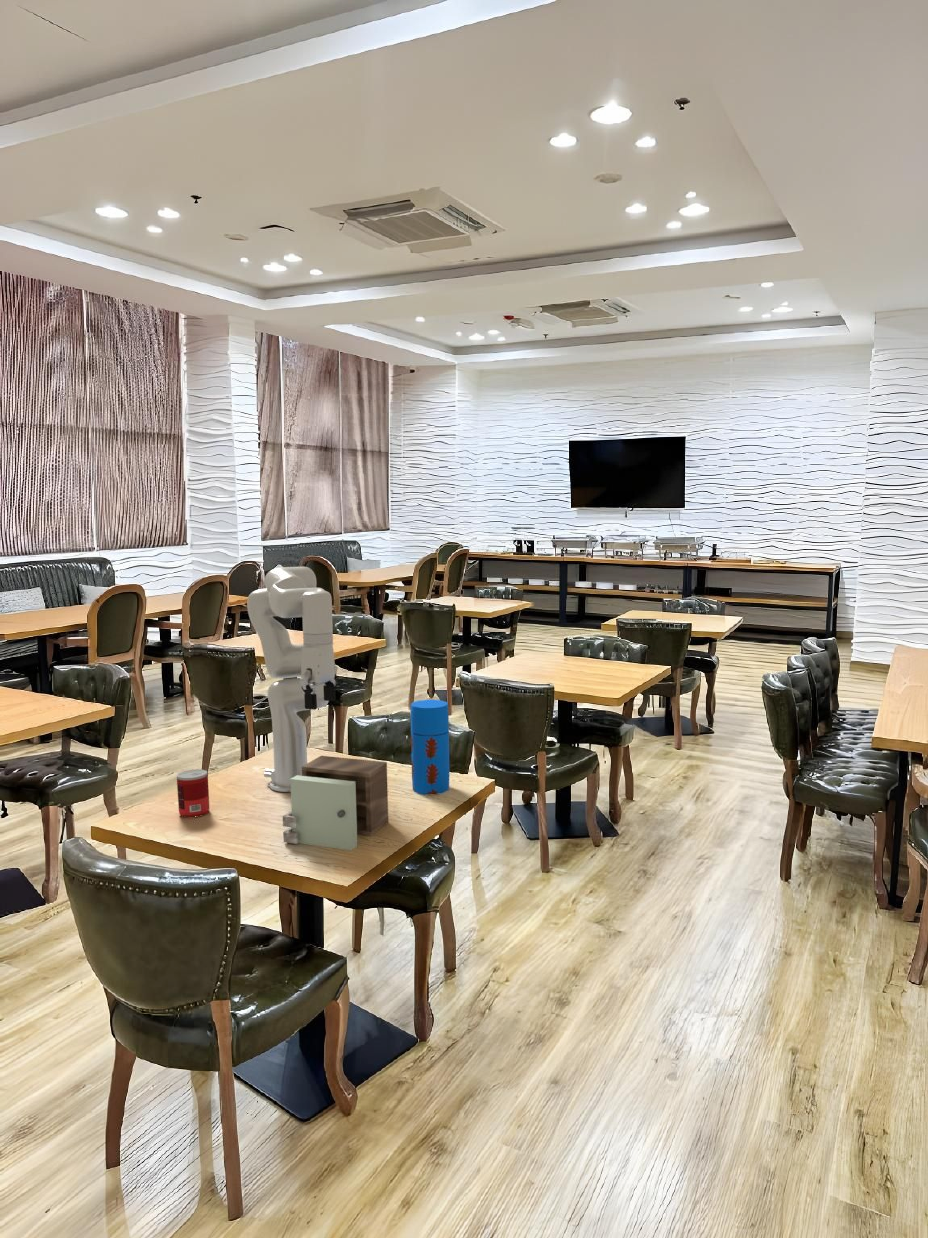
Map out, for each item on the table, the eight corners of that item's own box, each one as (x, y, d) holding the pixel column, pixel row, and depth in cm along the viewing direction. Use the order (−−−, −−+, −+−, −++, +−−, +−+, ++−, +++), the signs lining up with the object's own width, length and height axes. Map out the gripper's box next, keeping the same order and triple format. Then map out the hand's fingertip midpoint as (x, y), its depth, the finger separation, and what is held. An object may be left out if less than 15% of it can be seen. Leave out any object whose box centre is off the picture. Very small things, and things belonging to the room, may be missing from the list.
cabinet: (280, 843, 211) (277, 779, 209) (323, 814, 231) (321, 755, 229) (350, 853, 205) (348, 787, 202) (388, 822, 224) (386, 762, 222)
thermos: (414, 796, 244) (412, 709, 241) (410, 784, 255) (408, 700, 251) (452, 793, 246) (451, 707, 242) (447, 781, 256) (445, 698, 253)
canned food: (215, 810, 235) (213, 770, 233) (195, 820, 228) (192, 779, 226) (193, 806, 238) (191, 767, 237) (172, 816, 231) (170, 776, 229)
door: (290, 843, 211) (288, 780, 209) (299, 837, 215) (296, 775, 213) (349, 852, 206) (347, 786, 203) (357, 845, 209) (355, 781, 207)
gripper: (321, 633, 231) (324, 696, 234) (287, 644, 215) (290, 711, 218) (347, 634, 229) (349, 698, 231) (314, 645, 213) (316, 713, 215)
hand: (320, 704), depth 224 cm, fingers open, 9 cm apart
